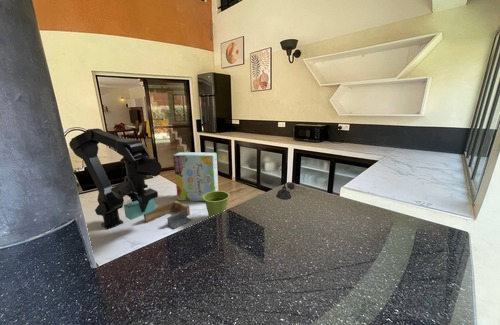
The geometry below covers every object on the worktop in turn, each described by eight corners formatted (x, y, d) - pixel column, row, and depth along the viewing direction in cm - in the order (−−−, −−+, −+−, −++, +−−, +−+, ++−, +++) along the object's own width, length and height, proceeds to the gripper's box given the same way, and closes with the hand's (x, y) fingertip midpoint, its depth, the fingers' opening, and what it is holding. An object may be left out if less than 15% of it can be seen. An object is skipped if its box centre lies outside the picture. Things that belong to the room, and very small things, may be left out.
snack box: (219, 195, 121) (217, 152, 114) (215, 202, 113) (213, 155, 106) (183, 194, 123) (179, 151, 116) (176, 200, 115) (172, 154, 108)
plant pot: (229, 211, 103) (228, 189, 100) (230, 224, 92) (230, 200, 89) (204, 213, 101) (203, 191, 98) (203, 226, 90) (201, 202, 87)
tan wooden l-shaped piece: (144, 222, 93) (143, 212, 92) (175, 208, 106) (174, 200, 105) (158, 230, 87) (157, 220, 86) (189, 214, 100) (189, 205, 99)
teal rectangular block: (125, 216, 82) (123, 205, 80) (150, 207, 90) (148, 196, 88) (130, 220, 80) (128, 208, 78) (155, 209, 87) (154, 198, 86)
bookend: (168, 226, 90) (167, 217, 89) (185, 217, 97) (184, 209, 96) (174, 229, 88) (173, 220, 87) (191, 220, 95) (190, 212, 94)
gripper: (100, 174, 79) (107, 211, 83) (124, 184, 69) (131, 227, 73) (131, 167, 88) (136, 201, 92) (156, 175, 77) (160, 214, 81)
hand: (140, 210), depth 84 cm, fingers closed on teal rectangular block, 4 cm apart
